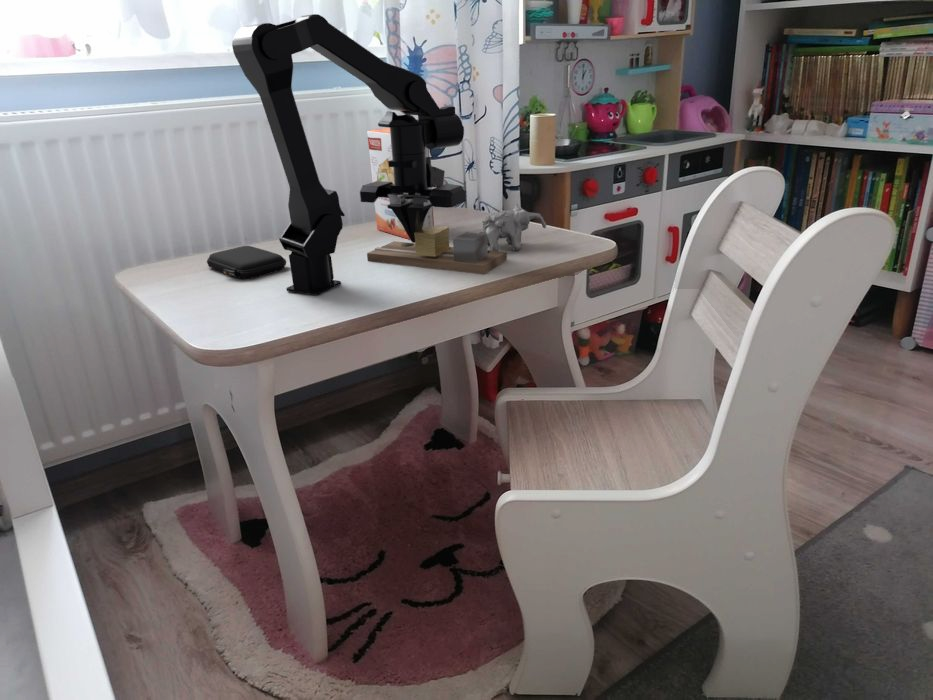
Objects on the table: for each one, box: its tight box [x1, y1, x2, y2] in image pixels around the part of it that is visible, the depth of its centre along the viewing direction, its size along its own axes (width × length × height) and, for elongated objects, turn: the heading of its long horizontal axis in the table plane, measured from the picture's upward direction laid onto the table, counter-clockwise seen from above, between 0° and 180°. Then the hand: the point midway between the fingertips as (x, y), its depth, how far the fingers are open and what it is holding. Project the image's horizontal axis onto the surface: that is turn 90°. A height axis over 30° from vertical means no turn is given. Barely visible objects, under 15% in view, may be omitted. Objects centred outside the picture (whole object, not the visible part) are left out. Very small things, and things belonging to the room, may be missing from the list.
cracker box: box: [366, 127, 435, 240], centre depth 142 cm, size 14×6×21 cm, turn 38°
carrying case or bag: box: [206, 245, 287, 280], centre depth 126 cm, size 11×3×15 cm
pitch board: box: [366, 231, 508, 275], centre depth 124 cm, size 9×24×6 cm, turn 62°
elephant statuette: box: [481, 203, 547, 252], centre depth 131 cm, size 9×12×8 cm
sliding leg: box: [414, 225, 451, 257], centre depth 124 cm, size 8×4×4 cm, turn 152°
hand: (415, 242), depth 124 cm, fingers closed
